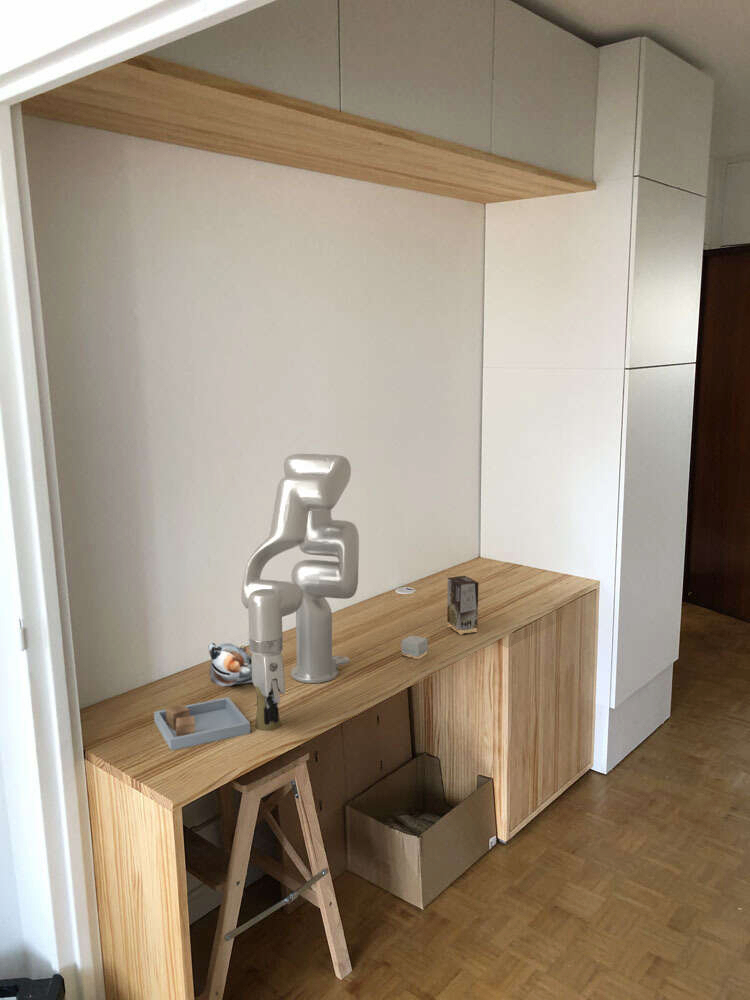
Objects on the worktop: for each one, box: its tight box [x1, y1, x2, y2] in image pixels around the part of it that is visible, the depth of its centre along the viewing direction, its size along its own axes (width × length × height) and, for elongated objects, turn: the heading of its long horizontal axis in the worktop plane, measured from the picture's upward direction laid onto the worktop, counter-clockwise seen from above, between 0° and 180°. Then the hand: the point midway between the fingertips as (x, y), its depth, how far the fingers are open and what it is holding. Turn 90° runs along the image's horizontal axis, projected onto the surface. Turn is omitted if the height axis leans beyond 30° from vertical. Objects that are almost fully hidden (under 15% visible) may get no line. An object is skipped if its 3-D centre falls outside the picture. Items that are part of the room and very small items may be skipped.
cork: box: [254, 686, 282, 732], centre depth 191 cm, size 6×6×11 cm
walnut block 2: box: [176, 716, 195, 737], centre depth 186 cm, size 4×4×4 cm
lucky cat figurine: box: [208, 642, 253, 687], centre depth 216 cm, size 15×12×14 cm
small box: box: [401, 635, 429, 657], centre depth 237 cm, size 6×6×5 cm
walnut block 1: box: [165, 703, 190, 730], centre depth 192 cm, size 4×4×4 cm
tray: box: [153, 696, 251, 752], centre depth 191 cm, size 18×16×3 cm
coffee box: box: [446, 575, 480, 630], centre depth 257 cm, size 9×6×16 cm
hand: (267, 718), depth 192 cm, fingers closed on cork, 3 cm apart
